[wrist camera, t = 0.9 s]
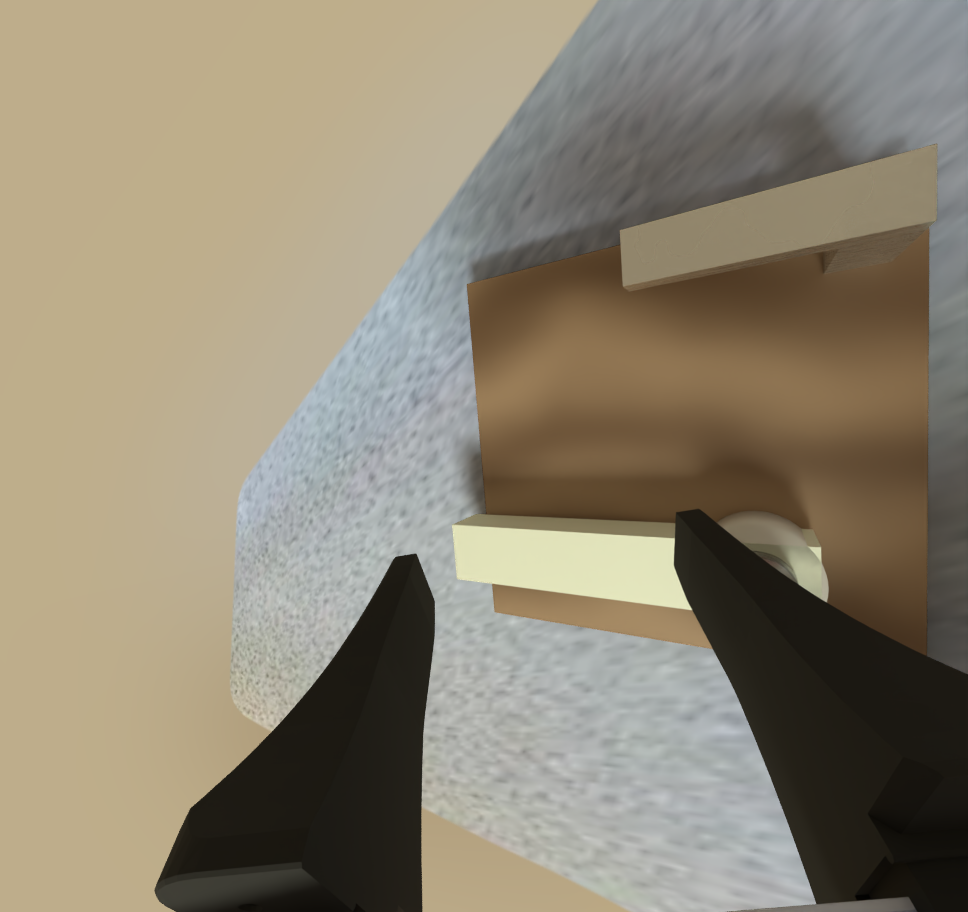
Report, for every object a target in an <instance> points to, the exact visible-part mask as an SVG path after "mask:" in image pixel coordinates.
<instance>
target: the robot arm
mask: <svg viewBox="0 0 968 912" xmlns="http://www.w3.org/2000/svg"><path fill="white" fill-rule="evenodd" d="M674 568H675V570H676V573H677V576H678V578H679V581H680V584H681V586H682V589H683V591H684V594H685V596H686V599H687V601H688V603H689V605H690V607H691V609H692V611H693V613H694V614H695V616H696V618H697V620H698V622H699V624H700V626H701V628H702V630H703V631H704V633H705V635H706V637H707V639H708V641H709V643H710V644H711V646H712V648H713V650H714V652H715V654H716V656H717V658H718V659H719V661H720V663H721V665H722V667H723V669H724V671H725V672H726V674H727V676H728V678H729V680H730V682H731V684H732V686H733V688H734V690H735V693H736V695H737V697H738V699H739V702H740V704H741V706H742V709H743V711H744V713H745V716H746V718H747V721H748V723H749V725H750V728H751V730H752V732H753V735H754V737H755V740H756V742H757V745H758V747H759V750H760V752H761V755H762V757H763V760H764V762H765V765H766V767H767V770H768V772H769V775H770V777H771V780H772V782H773V785H774V788H775V790H776V793H777V796H778V798H779V801H780V803H781V806H782V809H783V811H784V814H785V817H786V819H787V822H788V824H789V827H790V830H791V833H792V836H793V838H794V841H795V844H796V847H797V850H798V852H799V855H800V858H801V861H802V863H803V866H804V869H805V872H806V875H807V877H808V880H809V883H810V886H811V889H812V892H813V895H814V898H815V901H816V904H815V905H802V906H790V907H778V908H765V909H753V910H741V911H729V912H968V675H967V674H965V673H963V672H961V671H958V670H956V669H954V668H952V667H949V666H947V665H945V664H943V663H941V662H938V661H936V660H934V659H932V658H930V657H928V656H926V655H924V654H921V653H919V652H917V651H915V650H913V649H911V648H909V647H907V646H905V645H903V644H901V643H899V642H897V641H895V640H893V639H892V638H890V637H888V636H886V635H884V634H882V633H880V632H878V631H876V630H874V629H872V628H870V627H868V626H867V625H865V624H863V623H861V622H859V621H858V620H856V619H854V618H852V617H850V616H849V615H847V614H845V613H844V612H842V611H840V610H839V609H837V608H835V607H834V606H832V605H830V604H829V603H827V602H825V601H823V600H822V599H820V598H819V597H817V596H815V595H814V594H812V593H811V592H809V591H808V590H806V589H805V588H803V587H802V586H800V585H799V584H797V583H796V582H794V581H793V580H791V579H790V578H788V577H787V576H786V575H784V574H783V573H781V572H780V571H779V570H777V569H776V568H774V567H773V566H772V565H770V564H769V563H768V562H766V561H765V560H764V559H762V558H761V557H760V556H758V555H757V554H756V553H754V552H753V551H752V550H750V549H749V548H748V547H746V546H745V545H744V544H743V543H741V542H740V541H739V540H738V539H736V538H735V537H734V536H732V535H731V534H730V533H729V532H728V531H726V530H725V529H724V528H723V527H721V526H720V525H719V524H718V523H716V522H715V521H714V520H713V519H712V518H710V517H709V516H708V515H707V514H706V513H704V512H703V511H702V510H700V509H694V510H687V511H681V512H676V520H675V544H674ZM434 636H435V601H434V598H433V595H432V593H431V590H430V588H429V585H428V583H427V580H426V577H425V575H424V572H423V570H422V567H421V564H420V562H419V559H418V557H417V554H410V555H404V556H398V557H395V558H394V560H393V561H392V563H391V565H390V567H389V569H388V570H387V572H386V574H385V576H384V578H383V579H382V581H381V583H380V585H379V587H378V588H377V590H376V592H375V594H374V595H373V597H372V599H371V601H370V602H369V604H368V606H367V607H366V609H365V610H364V612H363V614H362V615H361V617H360V619H359V620H358V622H357V624H356V625H355V627H354V628H353V630H352V631H351V633H350V634H349V636H348V637H347V639H346V640H345V642H344V643H343V645H342V646H341V648H340V649H339V651H338V652H337V654H336V655H335V656H334V658H333V659H332V661H331V662H330V663H329V665H328V666H327V667H326V669H325V670H324V671H323V673H322V674H321V675H320V676H319V678H318V679H317V680H316V682H315V683H314V684H313V685H312V687H311V688H310V689H309V690H308V691H307V693H306V694H305V695H304V696H303V697H302V699H301V700H300V701H299V702H298V703H297V705H296V706H295V707H294V708H293V709H292V710H291V711H290V713H289V714H288V715H287V716H286V717H285V718H284V719H283V720H282V722H281V723H280V724H279V725H278V726H277V727H276V728H275V729H274V730H273V731H272V732H271V733H270V734H269V735H268V736H267V737H266V738H265V739H264V740H263V741H262V742H261V744H260V745H259V746H258V747H257V748H256V749H255V750H254V751H253V752H252V753H251V754H250V755H249V756H248V757H247V758H246V759H244V760H243V761H242V762H241V763H240V764H239V765H238V766H237V767H236V768H235V769H234V770H233V771H232V772H231V773H230V774H228V775H227V776H226V777H225V778H224V779H223V780H222V781H221V782H220V783H218V784H217V785H216V786H215V787H214V788H213V789H212V790H211V791H210V792H208V793H207V794H206V795H205V796H204V797H203V798H202V799H201V800H200V801H198V802H197V803H196V804H195V805H194V806H193V807H191V809H190V810H189V813H188V815H187V816H186V819H185V821H184V823H183V825H182V827H181V829H180V831H179V834H178V836H177V838H176V841H175V843H174V845H173V847H172V850H171V852H170V854H169V857H168V859H167V861H166V864H165V866H164V868H163V871H162V873H161V875H160V878H159V880H158V882H157V884H156V887H155V894H156V896H157V898H158V900H159V901H160V902H161V903H162V904H164V905H165V906H166V907H168V908H170V909H172V910H174V911H176V912H422V868H421V802H422V756H423V730H424V719H425V710H426V702H427V694H428V686H429V678H430V670H431V662H432V653H433V645H434Z"/></svg>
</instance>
